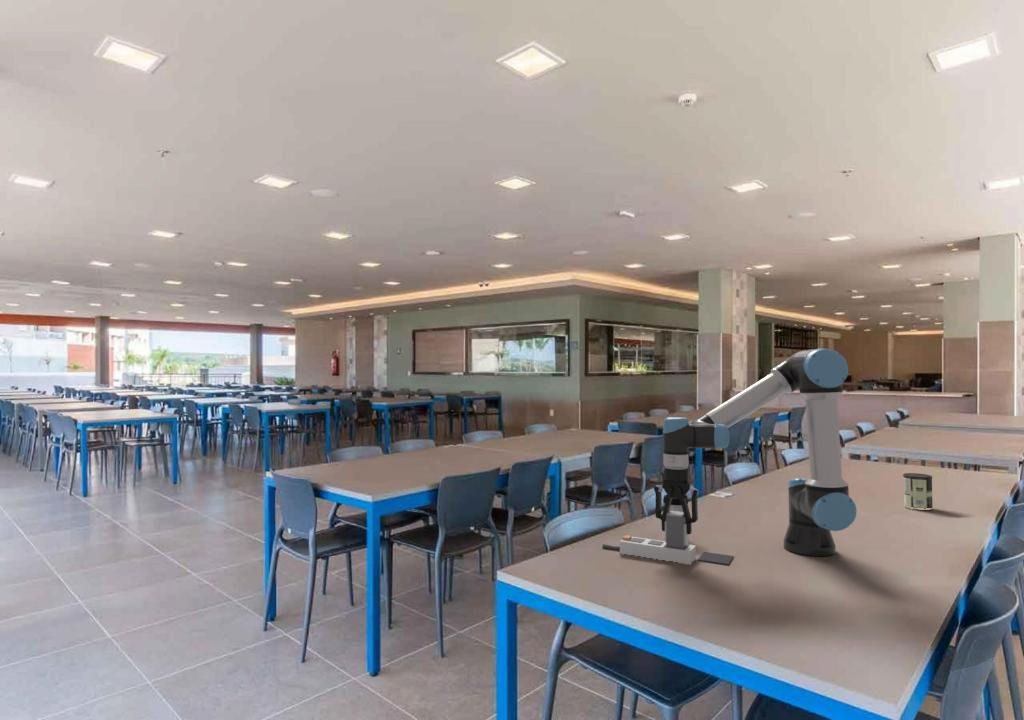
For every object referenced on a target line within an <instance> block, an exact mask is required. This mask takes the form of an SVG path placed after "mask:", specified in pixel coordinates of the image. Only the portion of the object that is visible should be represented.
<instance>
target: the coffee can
mask: <svg viewBox="0 0 1024 720" xmlns="http://www.w3.org/2000/svg"><path fill="white" fill-rule="evenodd" d="M902 477H903V482H902V483H903V506H904V505H906V506H909V507H913V508H924V509H926V508H932V507H933V476H932V475H930V474H926V473H925V474H924V473H913V472H908V473H907V472H906V473H903V474H902Z"/></svg>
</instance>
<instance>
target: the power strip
mask: <svg viewBox="0 0 1024 720" xmlns="http://www.w3.org/2000/svg"><path fill="white" fill-rule="evenodd" d="M606 548H609V549H608V550H613V549H616V550H615V551H619V550H620V551H619V554H620V553H622V554H621V555H624V554H629V555H628V556H630V555H635V556H634V557H637V556H641V557H640V558H643V557H646V558H645V559H649V558H653V559H652V560H656V559H658V560H657V561H662V560H665V561H664V562H669V561H673V562H672V563H675V562H678V563H677V564H682V563H683V564H682V565H688V564H689V566H690V565H692V564H693V563H694V562H695V560H696V558H697V551H696V550H697V546H696V544H695V545H694V544H690V543H688V544H687V545H686V546H685V547H684V548H683V549H682V548H675V547H668V546H666V543H665V540H660V539H651V538H646V537H645V538H644V537H638V536H637V537H636V536H632V535H627V534H625V535H624V536H622V539H621V540H620V541H619V546H618V545H611V544H602V549H606ZM692 562H693V563H692Z"/></svg>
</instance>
